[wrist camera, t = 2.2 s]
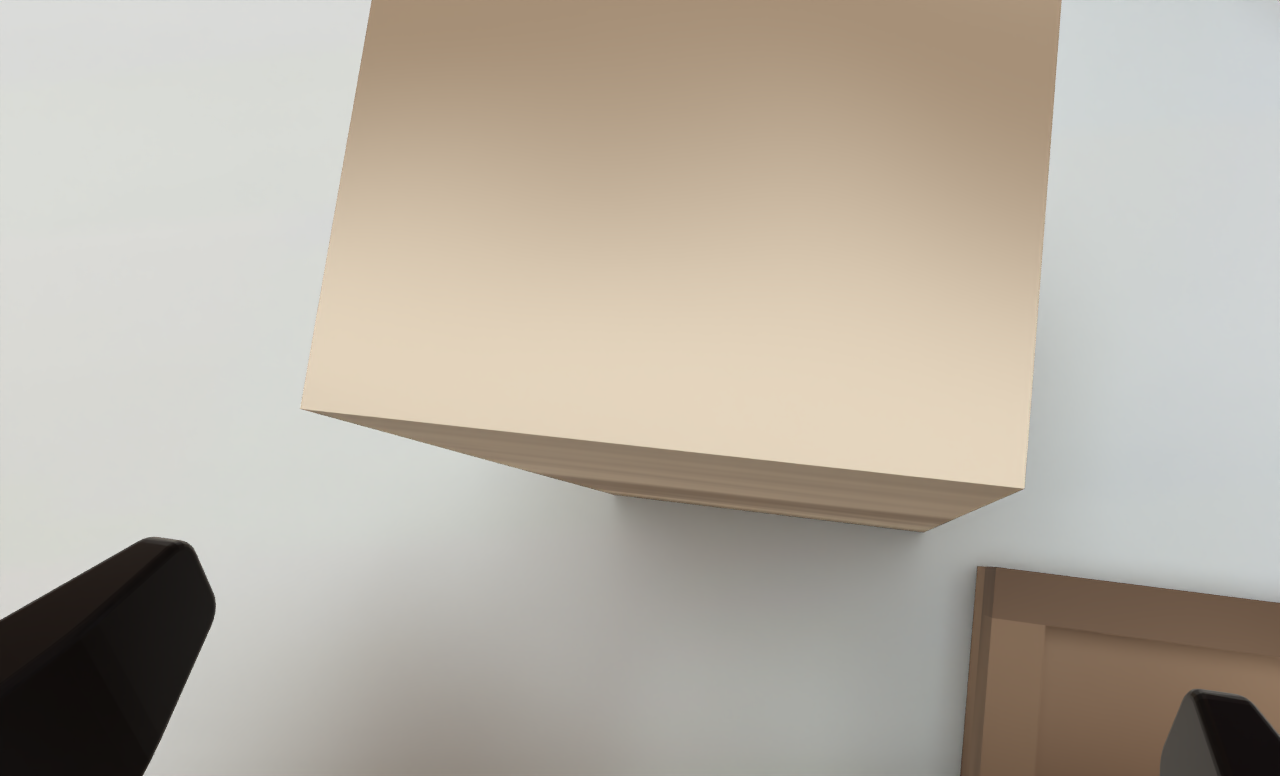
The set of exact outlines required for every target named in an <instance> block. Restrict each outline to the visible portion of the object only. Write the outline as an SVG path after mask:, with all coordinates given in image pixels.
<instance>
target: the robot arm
mask: <svg viewBox="0 0 1280 776" xmlns="http://www.w3.org/2000/svg"><path fill="white" fill-rule="evenodd" d="M215 609H216V602H215V596H214V593H213V591H212V589H211V586H210V584H209V582H208V579H207V577H206V575H205V572H204V570H203V568H202V566H201V563H200V561H199V559H198V556H197V554H196V552H195V550H194V548H193V547H192V546H191V545H190V544H188V543H187V542H185V541H181V540H174V539H167V538H161V537H149V538H145V539H142V540H140V541H138V542H136V543H135V544H133V545H131V546H129V547H128V548H126V549H124V550H122V551H121V552H119V553H117V554H115V555H113V556H112V557H110V558H108V559H106V560H105V561H103V562H101V563H99V564H98V565H96V566H94V567H92V568H91V569H89V570H87V571H85V572H84V573H82V574H80V575H78V576H77V577H75V578H73V579H71V580H70V581H68V582H66V583H64V584H63V585H61V586H59V587H57V588H56V589H54V590H52V591H50V592H49V593H47V594H45V595H43V596H42V597H40V598H38V599H36V600H35V601H33V602H31V603H29V604H28V605H26V606H24V607H22V608H21V609H19V610H17V611H15V612H14V613H12V614H10V615H8V616H7V617H5V618H3V619H1V620H0V776H143V774H144V772H145V770H146V769H147V767H148V765H149V763H150V761H151V759H152V757H153V755H154V752H155V750H156V748H157V746H158V744H159V742H160V740H161V738H162V736H163V733H164V731H165V729H166V727H167V724H168V722H169V720H170V718H171V715H172V713H173V711H174V709H175V706H176V704H177V702H178V700H179V697H180V695H181V693H182V691H183V688H184V686H185V684H186V682H187V679H188V677H189V675H190V673H191V670H192V668H193V666H194V664H195V661H196V659H197V657H198V655H199V652H200V650H201V648H202V645H203V643H204V641H205V639H206V636H207V634H208V632H209V630H210V627H211V625H212V622H213V620H214V615H215ZM1160 776H1280V735H1279V734H1278V733H1277V731H1276V730H1275V729H1274V728H1273V726H1272V725H1271V724H1270V723H1269V721H1268V720H1267V719H1266V718H1265V717H1264V715H1263V714H1262V713H1261V712H1260V710H1259V709H1258V708H1257V707H1256V706H1255V704H1254V703H1252V702H1251V701H1250V700H1249V699H1247V698H1246V697H1244V696H1241V695H1238V694H1233V693H1226V692H1219V691H1212V690H1205V689H1192V690H1190V691H1189V692H1188V693H1187V694H1186V695H1185V696H1184V698H1183V700H1182V702H1181V705H1180V707H1179V710H1178V712H1177V715H1176V717H1175V719H1174V722H1173V724H1172V727H1171V729H1170V732H1169V734H1168V737H1167V739H1166V741H1165V744H1164V746H1163V750H1162V754H1161V760H1160Z"/></svg>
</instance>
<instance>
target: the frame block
mask: <svg viewBox="0 0 1280 776" xmlns="http://www.w3.org/2000/svg"><path fill="white" fill-rule="evenodd" d="M1060 13H1061V0H372V2H371V8H370V14H369V19H368V25H367V31H366V36H365V42H364V48H363V54H362V59H361V65H360V71H359V76H358V82H357V88H356V94H355V99H354V105H353V111H352V116H351V122H350V128H349V133H348V139H347V145H346V151H345V156H344V162H343V168H342V173H341V179H340V185H339V191H338V196H337V202H336V208H335V213H334V219H333V225H332V230H331V236H330V242H329V248H328V253H327V259H326V265H325V270H324V276H323V282H322V288H321V293H320V299H319V305H318V310H317V316H316V322H315V327H314V333H313V339H312V345H311V350H310V356H309V362H308V367H307V373H306V379H305V385H304V390H303V396H302V402H301V407H300V409H303V410H306V411H310V412H314V413H317V414H321V415H325V416H328V417H332V418H336V419H339V420H343V421H347V422H350V423H354V424H357V425H361V426H365V427H368V428H372V429H376V430H379V431H383V432H387V433H390V434H394V435H398V436H401V437H405V438H409V439H412V440H416V441H420V442H423V443H427V444H431V445H434V446H438V447H442V448H445V449H449V450H452V451H456V452H460V453H463V454H467V455H471V456H474V457H478V458H482V459H485V460H489V461H493V462H496V463H500V464H504V465H507V466H511V467H515V468H518V469H522V470H526V471H529V472H533V473H537V474H540V475H544V476H548V477H551V478H555V479H558V480H562V481H566V482H569V483H573V484H577V485H580V486H584V487H588V488H591V489H595V490H599V491H602V492H606V493H610V494H613V495H621V496H629V497H638V498H646V499H654V500H662V501H670V502H679V503H687V504H695V505H703V506H712V507H720V508H728V509H736V510H744V511H753V512H761V513H769V514H777V515H786V516H794V517H802V518H810V519H819V520H827V521H835V522H843V523H851V524H860V525H868V526H876V527H884V528H893V529H901V530H909V531H917V532H925V531H928V530H930V529H932V528H935V527H937V526H939V525H942V524H944V523H946V522H949V521H951V520H953V519H955V518H958V517H960V516H962V515H965V514H967V513H969V512H972V511H974V510H976V509H979V508H981V507H983V506H986V505H988V504H990V503H992V502H995V501H997V500H999V499H1002V498H1004V497H1006V496H1009V495H1011V494H1013V493H1016V492H1018V491H1020V490H1023V489H1024V487H1025V474H1026V461H1027V448H1028V435H1029V422H1030V408H1031V395H1032V382H1033V369H1034V356H1035V342H1036V329H1037V316H1038V303H1039V290H1040V276H1041V263H1042V250H1043V237H1044V224H1045V211H1046V197H1047V184H1048V171H1049V158H1050V145H1051V131H1052V118H1053V105H1054V92H1055V79H1056V65H1057V52H1058V39H1059V26H1060Z"/></svg>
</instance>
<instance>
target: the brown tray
mask: <svg viewBox="0 0 1280 776" xmlns="http://www.w3.org/2000/svg"><path fill="white" fill-rule="evenodd" d="M1192 689H1205V690H1212V691H1219V692H1226V693H1233V694H1238V695H1241V696H1244V697H1246V698H1247V699H1249V700H1250V701H1251V702H1252V703H1254V704H1255V706H1256V707H1257V708H1258V709H1259V710H1260V712H1261V713H1262V714H1263V715H1264V717H1265V718H1266V719H1267V720H1268V721H1269V723H1270V724H1271V725H1272V726H1273V728H1274V729H1275V730H1276V731H1277V733H1278V734H1279V735H1280V603H1275V602H1267V601H1259V600H1251V599H1243V598H1236V597H1228V596H1220V595H1212V594H1204V593H1196V592H1188V591H1180V590H1173V589H1165V588H1157V587H1149V586H1141V585H1133V584H1125V583H1117V582H1109V581H1102V580H1094V579H1086V578H1078V577H1070V576H1062V575H1054V574H1046V573H1039V572H1031V571H1023V570H1015V569H1007V568H999V567H982V566H977V578H976V590H975V602H974V615H973V627H972V639H971V652H970V664H969V676H968V689H967V701H966V713H965V725H964V738H963V750H962V762H961V775H960V776H1160V760H1161V754H1162V750H1163V746H1164V744H1165V741H1166V739H1167V737H1168V734H1169V732H1170V729H1171V727H1172V724H1173V722H1174V719H1175V717H1176V715H1177V712H1178V710H1179V707H1180V705H1181V702H1182V700H1183V698H1184V696H1185V695H1186V694H1187V693H1188V692H1189V691H1190V690H1192Z"/></svg>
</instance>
